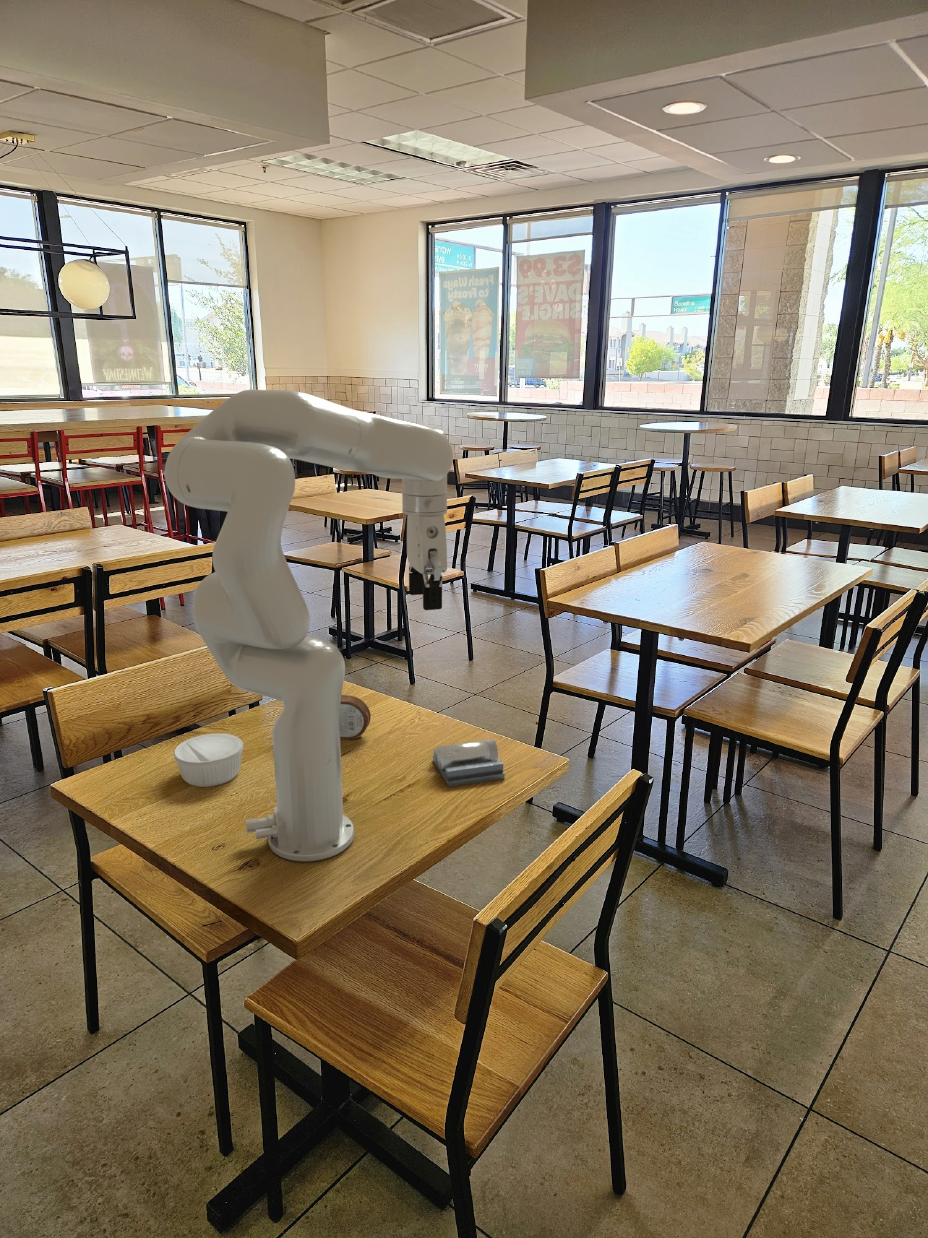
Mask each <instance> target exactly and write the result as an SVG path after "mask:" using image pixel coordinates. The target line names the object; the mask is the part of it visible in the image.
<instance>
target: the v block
mask: <svg viewBox="0 0 928 1238" xmlns="http://www.w3.org/2000/svg"><path fill="white" fill-rule="evenodd" d="M436 752H437V748H436V749H434V750H433V755H432V761H433V763H434V765H435V767H436V768H437V770H438V772H439V773H440V775H441V777H442V778H443V780H444V781H445V783H446V785H447V787H448V788H451V787H452V788H453V787H458V786H465V785H466V786H467V785H472V784H479V783H485V782H490V781H491V782H492V781H493V782H494V781H499V780H505V777H506V773H505V772H504V763H503V761H502V760H501V759H498V760H496V761H489V762H481V763H474V764H467V765H460V766H453V767H446V768H445V769H442V770H441V769H440V768H439V766H438V762H437V754H436Z"/></svg>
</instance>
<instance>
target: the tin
mask: <svg viewBox="0 0 928 1238" xmlns="http://www.w3.org/2000/svg"><path fill="white" fill-rule="evenodd" d="M371 717H372V716H371V712H370V709H369V706H368V705H367V704H366V703H365V702H364V701H363V700H362V699H361V698H359V697H356V696H354V695H350V694H349V695H347V694H343V695H342V694H341V702H340V740H354V739H356V738H359V737H361V736H362V735H363V734H364V733H365V732H366V730H367V729H368V727H369V725H370V723H371Z"/></svg>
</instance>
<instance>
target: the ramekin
mask: <svg viewBox="0 0 928 1238" xmlns="http://www.w3.org/2000/svg"><path fill="white" fill-rule="evenodd" d="M243 751H244V742H243V740H241V738H240V737H238V736H236V735H233V734H230V733H220V732H219V733H217V732H216V733H208V734H202V735H201V734H200V735H197V736H193V737H191V738H188V739H186V740H184V741H182V742H181V743H179V745H177V747H176V748H175V749H174V751H173V756H174V760H175V761H176V763H177V767H178V769H179V771H180V775H181V777H182V780H183V781H185V782H186V783H188V785H191V786H194V787H200V788H201V787H202V788H206V787H208V788H209V787H215V786H218V785H219V786H220V785H222V784H225V783H227V782H230V781H232V780H233V779H234V778H235V777H236V776H237V775H238V774H239V772H240V770H241V765H242V756H243V755H242V753H243Z"/></svg>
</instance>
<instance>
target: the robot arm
mask: <svg viewBox="0 0 928 1238" xmlns="http://www.w3.org/2000/svg"><path fill="white" fill-rule="evenodd" d="M453 458H454V453H453V448H452V445H451V443H450V441H449V439H448V437H447V434H446V433H445V431H444V430H441V429H438V428H430V427H427V426H424V425H422V424H421V425H420V424H417V423H413V422H407V421H403V420H399V419H394V418H390V417H387V416H382V415H379V414H375V413H370V412H366V411H361V410H356V409H354V408H350V407H348V406H344V405H342V404H338V403H336V402H333V401H330V400H327V399H324V398H321V397H319V396H315V395H313V394H309V393H306V392H302V391H298V390H296V391H295V390H284V389H283V390H281V389H279V390H273V389H244V390H241V391H240V392H237V393H235V394H234V395H232V396H230V397H229V398H227V399H225V400H224V401H223V402H221V403H220V404H219V405H218V406H216V407H215V408H214V409H213V410H212V411H211V412H209V413H208V414H207V415H206V416H205V417H204V418H203V419H201V421H200V422H198V423H197V424H196V425H195V426H193V427H192V428H191V429H190V430H189V431H188V432H186V433H185V434H184V435H183V436H182V437H181V438H180V439H179V440H178V441H177V442H176V444H175V445H174V446H173V447H172V449H171V450H170V452H169V454H168V456H167V458H166V461H165V466H164V467H165V468H164V479H165V484H166V486H167V488H168V491H169V492H170V493H171V495H172V496H173V497H174V498H175V499H176V500H177V501H178V502H180V503H181V504H183V505H186V506H188V507H192V508H195V509H201V510H212V511H221V512H227V513H226V515H225V518H224V521H223V524H222V526H221V528H220V531H219V533H218V536H217V539H216V540H215V542H214V545H213V549H212V556H211V557H212V559H211V560H212V566H213V569H214V572H213V573H210V574H208V575H207V576H205V577H204V578H203V579H202V580H201V581H200V583H199V584H198V585H197V587H196V588H195V592H194V594H193V597H192V598H193V599H192V616H193V617H192V619H193V622H194V624H195V628H196V630H197V631H198V633H199V635H200V638H201V639H202V640H203V642H204V643H205V646H206V647H207V649H208V651H209V652H210V653H211V655H212V657H213V659H214V660H215V662H216V664H217V665H218V667H219V668H220V670H221V671H222V673H223V675H224V676H225V677H226V679H227V680H228V681H229V682H230V683H231V684H232V685H233V686H234V687H236V688H237V689H239V690H241V691H244V692H248V693H251V694H253V695H254V694H255V695H259V696H262V697H265V698H271V699H274V700H278V701H280V702H282V704H283V709H282V711H281V713H280V714H279V716H278V718H276V720H275V722H274V725H273V727H272V734H271V735H272V751H273V752H272V753H273V764H274V765H273V766H274V778H275V779H274V780H275V782H274V783H275V796H276V806H274V807H273V813H272V814H267V817H261V818H251V819H246V820H245V828H246V833H247V834H251V833H255V840H261V839H266V838H268V846H269V848H270V849H271V851H272V852H273V853H274V854H275V855H277V856H279V857H281V858H282V859H286V860H288V861H295V862H316V861H322V860H325V859H326V860H327V859H328V858H331V857H334V856H337V855H339V854H340V853H341V852H343V851H345V850H346V849H348V848H349V846H351V844H352V842H353V840H354V838H355V825H354V823H353V822H352V820H350V817H349V818H348V817H347V816H346V815H344V806H343V805H344V804H343V803H344V802H343V801H344V800H343V779H342V778H343V777H342V753H341V751H342V747H341V739H340V702H341V695H342V693H343V688H344V687H343V686H344V682H345V681H344V680H345V674H346V664H345V659H344V657H343V655H342V653H341V652H340V649H338V648H337V647H336V646H335V645H333V644H332V643H330V642H329V641H326V640H325V639H321V638H320V637H319V638H318V637H315V636H310V635H308V634H309V630H310V627H311V615H310V612H309V608H308V605H307V603H306V600H305V598H304V596H303V593H302V591H301V590H300V589H301V588H300V587H299V585H298V583H297V580H296V579H295V577H294V574H293V572H292V570H291V568H290V566H289V564H288V562H287V559H286V557H285V553H284V551H283V548H282V534H283V527H284V525H285V521H286V517H287V514H288V511H289V508H290V505H291V503H292V500H293V497H294V494H295V489H296V474H295V473H296V472H295V468H294V466H293V463H292V461H291V459H293V460H298V461H302V462H307V463H311V464H317V465H322V466H325V467H329V468H333V469H337V470H343V471H350V472H359V473H370V474H372V475H375V476H376V477H380V478H384V479H394V480H401V482H402V483H401V488H402V490H401V491H402V495H401V496H402V497H401V499H402V503H401V504H402V506H401V507H402V511H401V512H402V514H404V515H407V518H406V519H407V520H406V556H407V561H408V563H409V566H408V572H409V573H408V593H409V595H410V596H418V595H422V608H423V610H424V611H435V610H441V609H442V608H443V575H442V573H446V572H447V571H448V552H447V551H448V549H447V544H448V543H447V531H446V520H445V516H444V515H446V514H447V513H448V474H449V472H450V470H451V469H452V466H453V461H454V459H453Z"/></svg>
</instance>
